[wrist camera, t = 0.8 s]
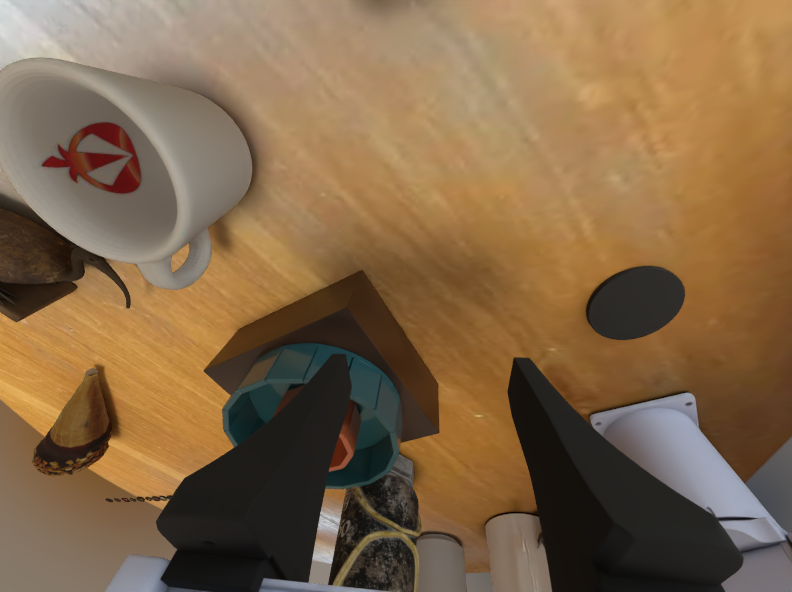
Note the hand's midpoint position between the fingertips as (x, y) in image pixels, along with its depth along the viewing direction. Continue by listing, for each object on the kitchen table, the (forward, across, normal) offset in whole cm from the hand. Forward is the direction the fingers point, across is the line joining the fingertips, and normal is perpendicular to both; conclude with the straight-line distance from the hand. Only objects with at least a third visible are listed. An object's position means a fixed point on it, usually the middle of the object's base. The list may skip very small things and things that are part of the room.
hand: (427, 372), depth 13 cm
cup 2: (+10, -11, +36) cm, 39 cm away
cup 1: (+10, +14, -7) cm, 19 cm away
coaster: (+10, -14, +3) cm, 18 cm away
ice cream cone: (+9, +33, +10) cm, 36 cm away
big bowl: (+5, +8, +9) cm, 13 cm away
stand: (+10, +8, +9) cm, 16 cm away
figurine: (+8, +32, 0) cm, 33 cm away
